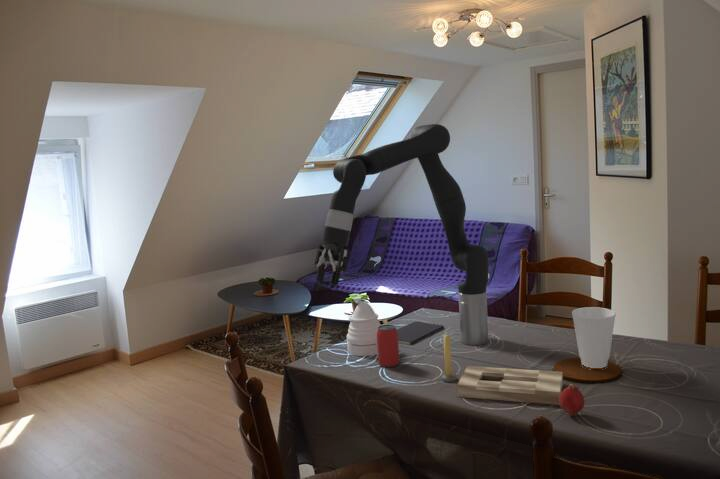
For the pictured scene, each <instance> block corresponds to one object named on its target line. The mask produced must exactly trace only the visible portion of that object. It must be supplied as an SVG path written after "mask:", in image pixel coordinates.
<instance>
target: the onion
mask: <svg viewBox="0 0 720 479" xmlns="http://www.w3.org/2000/svg"><path fill="white" fill-rule="evenodd" d="M559 403H560V405H559V406H560V408H561V409H562V411H564V412H565V413H566V414H568V415H569V416H571V417H574V416H575V415H577V414H578V413H579V412H581V411H582V410H583V409H584V407H585V398H584V395H583V393H582V391H581V390H579V389H578V388H577V387H575V386H574V384H572V383H569V385H568V386H567V387H565V388H564V389H562V392H561V394H560V396H559Z"/></svg>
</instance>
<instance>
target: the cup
mask: <svg viewBox="0 0 720 479" xmlns="http://www.w3.org/2000/svg"><path fill="white" fill-rule="evenodd" d="M571 315H572V320H573V327H574V330H575V331H574V332H575V337H576V344H577V350H578V356H579V358H580V362H581V366H582V365H584V366H586V367H590V368H603V367H606V366H607V367H608V360H609V359H610V355H611V347H612V340H613V333H614V326H615V320H616V319H615V318H616V312H615V311H614V310H612V309H610V308H604V307H599V306H598V307H596V306H588V307H587V306H585V307H580V308H575V309H573V310H572V311H571ZM607 367H606V368H607Z"/></svg>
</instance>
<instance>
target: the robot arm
mask: <svg viewBox="0 0 720 479" xmlns="http://www.w3.org/2000/svg"><path fill="white" fill-rule="evenodd" d="M450 143H451V136H450V132H449V130H448V128H447V127H446V126H445V125H442V124H439V123H438V124H437V123H430V124H423V125H419V126H416V127H415V128H414V129H413V131H412V133H411V138H407V139H405V140H400V141H396V142H392V143H388V144H385V145H382V146H379V147H375V148H373V149H371V150H368V151H366V152H364V153H359V154H357V155H354V156H348V157H346V158H343V159H340V160H339V161H338V162H336V164H334V167H333V170H332V173H333V175H332V176H333V177H334V179H335V181H337V182H338V183H340V186H339V188H338V189H337V190H336V191H334V192H333V194H332V196H331V200H330V206H329V210H328V213H327V216H326V219H325V222H324V223H325V225H324V228H323V229H324V230H323V233H322V238H321V240H322V242H325V245H323V244H318V247H317V251H316V255H315V259H314V265H316V267H317V270H316V271H317V272H316V277H315V281H318V282H323V281H324V280H325V276H326V274H325V273H326V268H327V266H328V265H331V266H332V273H331V279H330V283H329V284H330V285H331V286H338V285H339V282H340V278H341V277H340V276H341V273H343V272H346V271H347V267H348V263H349V257H350V250H349V249H344V247H347V246H348V245H349V242H350V241H349V240H350V236H351V230H352V226H353V219H354V212H355V207H356V203H357V199H358V197H359V195H360V193H361V191H362V189H363V187H364V184H365V181H366V178H367V176H369V175H370V176H371V175H378V174H380V173H383V172H385V171H387V170H389V169H392V168H394V167H396V166H399V165H401V164H403V163H406V162H409V161H411V160H414V159H417V160H418V162H419V163H420V166H421V168H422V171H423V172H424V175H425V178H426V181H427V184H428V186H429V189H430V192H431V195H432V198H433V201H434V204H435V207H436V211H437V212H438V215H439V218H440V220H441V224H442V227H443V230H444V233H445V237H446V240H447V244H448V250H449V255H450V257H451V260H452V263H453V265H454V267H456V269H458V270H460V271H464V272H465V280H464V281H461V282H459V283H458V285H457V286H458V287H457V290H458V293H457V294H458V308H459V312H458V313H459V330H460V331H459V333H460V342H461V343H462V344H464V345H471V346H478V345H484V344H487V343H488V342H489V327H488V326H489V325H488V323H489V322H488V321H489V320H488V298H487V286H488V283H489V254H488V251H487V249H486V248H485V247H484V246H483V245H479V244H473V243H470V241H469V240H468V238H467V234H466V232H465V228H464V226H465V224H464V222H465V217H466V213H467V207H466V202H465V198H464V195H463V192H462V189H461V186H460V185H459V183H458V182H457V181H456V179H455V178H454V177H453V176H452V175H451V173H450V172H449V171H448V170H447V169H446V168H445V166H444V164H443V163H442V160H441V159H440V158H441V157H440V155H439V154H441V153H444V152H445V151H446V150H447V148H448V147H449V145H450Z"/></svg>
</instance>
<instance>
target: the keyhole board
mask: <svg viewBox="0 0 720 479" xmlns="http://www.w3.org/2000/svg"><path fill="white" fill-rule="evenodd" d="M563 373H564V372H563V371H553V370H538V369H536V370H535V369H520V368H519V369H518V368H507V367H505V368H504V367H488V366H473V365H471V366H470V365H467V366H466V368H465V369H464V371H463V374H462V375H461V376H460V378H459V380H458V382H457V385H456V388H457V391H456V392H457V397H458V398H468V399H469V398H470V399H483V400H494V401H496V400H498V401H508V402H509V401H510V402H519V403H531V404H544V405H545V404H546V405H557V406H560V403H559V396H560V394H561V392H562V391H563V384H564V381H563V380H564V377H563V376H564V375H563Z"/></svg>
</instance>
